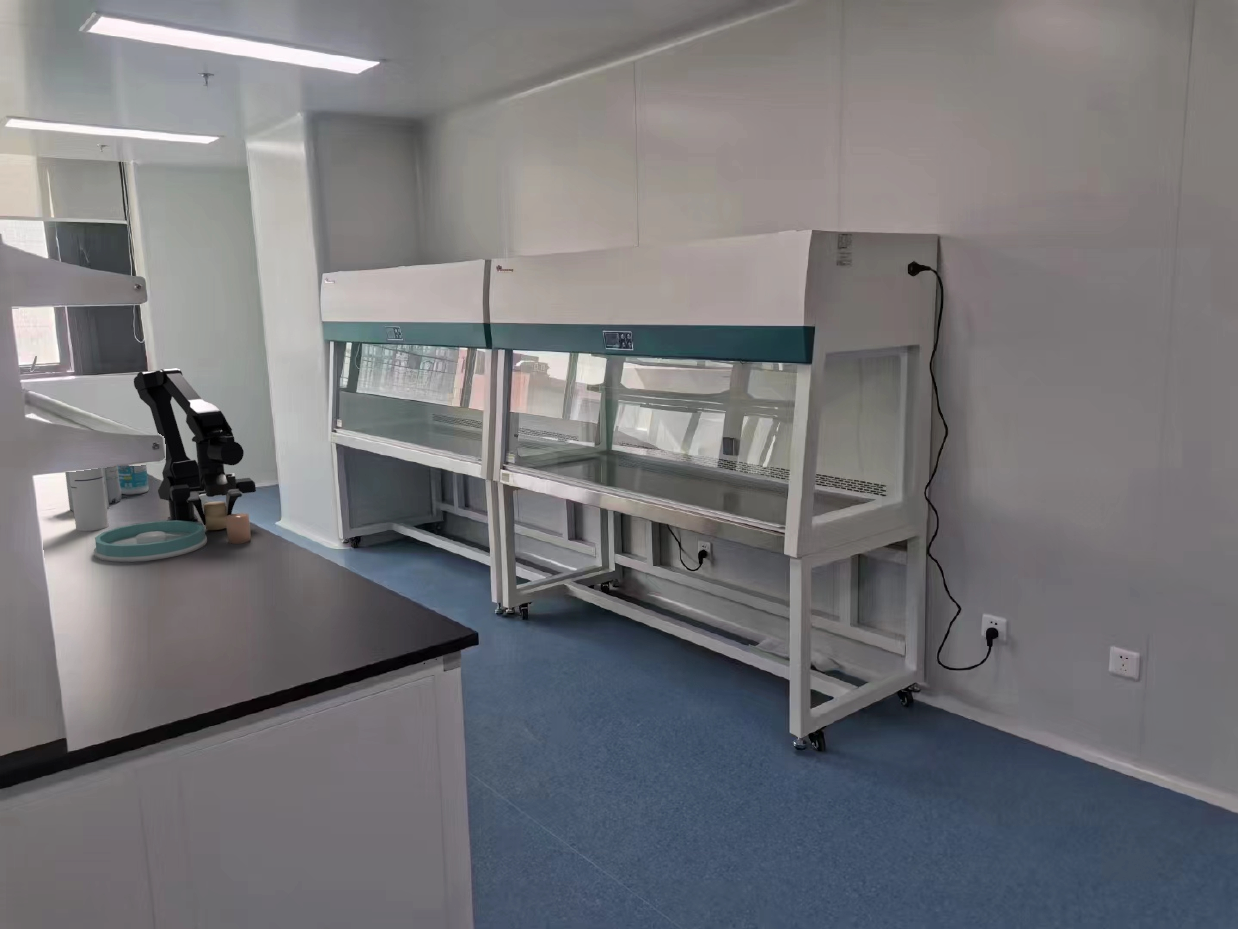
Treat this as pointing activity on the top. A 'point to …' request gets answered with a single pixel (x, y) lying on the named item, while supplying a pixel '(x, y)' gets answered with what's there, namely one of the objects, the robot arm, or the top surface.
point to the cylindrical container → (89, 499)
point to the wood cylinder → (215, 515)
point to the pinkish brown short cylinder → (238, 528)
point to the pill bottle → (133, 479)
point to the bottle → (113, 484)
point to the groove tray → (149, 541)
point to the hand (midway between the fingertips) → (216, 523)
